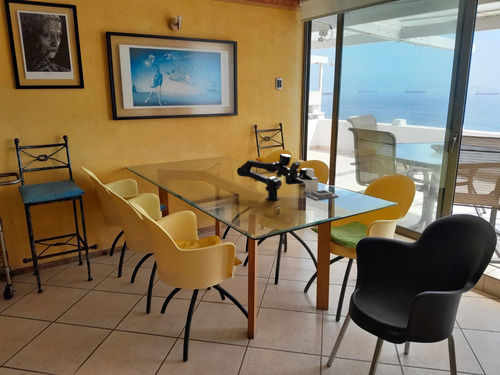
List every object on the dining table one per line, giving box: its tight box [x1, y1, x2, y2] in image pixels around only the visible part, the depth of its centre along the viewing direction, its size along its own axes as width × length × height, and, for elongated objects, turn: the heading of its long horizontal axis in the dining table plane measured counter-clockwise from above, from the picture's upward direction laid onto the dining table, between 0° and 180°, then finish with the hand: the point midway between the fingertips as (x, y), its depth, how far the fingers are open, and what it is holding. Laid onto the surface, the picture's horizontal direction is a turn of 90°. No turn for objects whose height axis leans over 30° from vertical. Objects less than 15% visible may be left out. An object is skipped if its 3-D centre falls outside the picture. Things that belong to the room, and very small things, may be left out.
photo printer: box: [299, 167, 315, 185], centre depth 279 cm, size 10×4×12 cm, turn 90°
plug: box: [304, 176, 319, 194], centre depth 258 cm, size 5×7×10 cm
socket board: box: [305, 189, 339, 201], centre depth 247 cm, size 12×18×3 cm, turn 116°
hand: (308, 180), depth 221 cm, fingers open, 9 cm apart
